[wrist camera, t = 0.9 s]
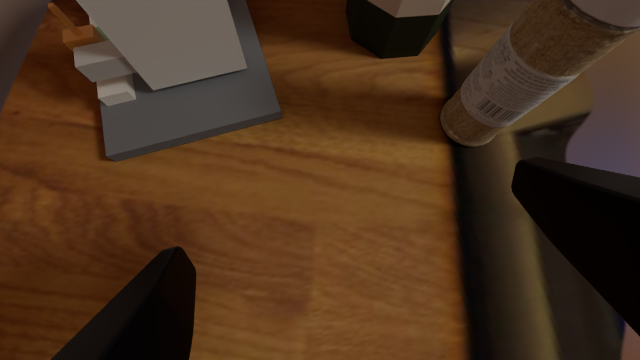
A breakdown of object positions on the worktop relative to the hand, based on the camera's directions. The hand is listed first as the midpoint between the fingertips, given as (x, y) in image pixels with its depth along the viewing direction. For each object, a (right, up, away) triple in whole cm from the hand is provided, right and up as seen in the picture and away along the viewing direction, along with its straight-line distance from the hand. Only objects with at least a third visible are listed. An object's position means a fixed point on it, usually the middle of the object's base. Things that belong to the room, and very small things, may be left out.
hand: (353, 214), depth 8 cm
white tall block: (-11, +9, +14) cm, 20 cm away
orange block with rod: (-16, +9, +13) cm, 23 cm away
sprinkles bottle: (+11, +5, +16) cm, 20 cm away
